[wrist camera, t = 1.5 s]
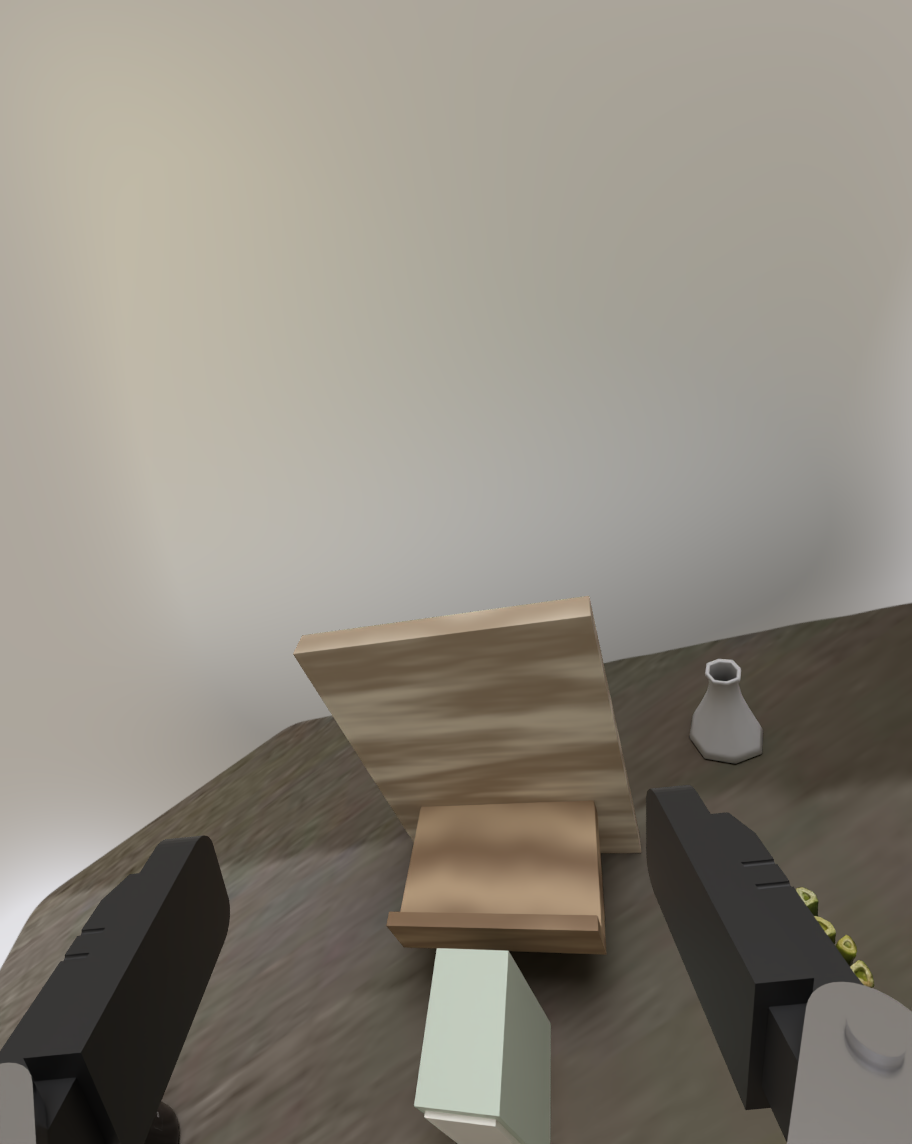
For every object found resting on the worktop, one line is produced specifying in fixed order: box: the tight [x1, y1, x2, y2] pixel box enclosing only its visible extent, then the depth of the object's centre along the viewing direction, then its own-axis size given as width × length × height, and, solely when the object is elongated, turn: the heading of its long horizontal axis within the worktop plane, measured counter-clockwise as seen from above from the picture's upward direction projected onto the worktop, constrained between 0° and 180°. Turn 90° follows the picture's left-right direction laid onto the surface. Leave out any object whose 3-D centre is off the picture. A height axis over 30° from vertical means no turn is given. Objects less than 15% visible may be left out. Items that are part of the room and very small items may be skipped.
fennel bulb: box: [796, 887, 874, 988], centre depth 38 cm, size 6×5×12 cm
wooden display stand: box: [293, 596, 642, 955], centre depth 46 cm, size 18×22×30 cm
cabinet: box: [414, 948, 551, 1144], centre depth 39 cm, size 8×5×14 cm, turn 172°
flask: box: [689, 659, 763, 764], centre depth 57 cm, size 7×7×10 cm
